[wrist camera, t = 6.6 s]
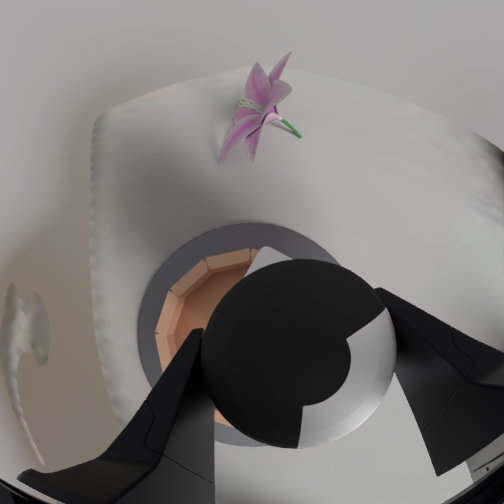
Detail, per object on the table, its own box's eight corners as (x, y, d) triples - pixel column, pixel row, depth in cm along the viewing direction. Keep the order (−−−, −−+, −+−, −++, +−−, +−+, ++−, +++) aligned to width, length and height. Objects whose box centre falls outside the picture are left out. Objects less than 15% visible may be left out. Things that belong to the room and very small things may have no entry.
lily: (269, 91, 30) (221, 45, 22) (356, 103, 23) (321, 36, 15) (227, 173, 31) (165, 140, 23) (312, 205, 25) (255, 162, 17)
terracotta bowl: (241, 445, 19) (238, 456, 17) (138, 327, 22) (126, 328, 20) (364, 342, 21) (373, 344, 19) (254, 224, 24) (252, 215, 22)
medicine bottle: (216, 356, 18) (136, 395, 7) (267, 271, 20) (256, 192, 8) (303, 403, 17) (339, 498, 5) (353, 317, 18) (453, 301, 7)
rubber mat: (239, 477, 19) (239, 479, 18) (104, 321, 23) (102, 321, 23) (405, 339, 21) (406, 339, 20) (257, 183, 25) (257, 181, 25)
